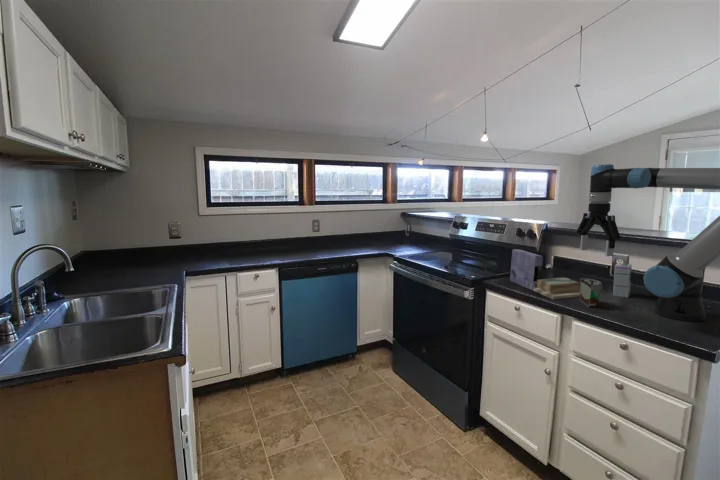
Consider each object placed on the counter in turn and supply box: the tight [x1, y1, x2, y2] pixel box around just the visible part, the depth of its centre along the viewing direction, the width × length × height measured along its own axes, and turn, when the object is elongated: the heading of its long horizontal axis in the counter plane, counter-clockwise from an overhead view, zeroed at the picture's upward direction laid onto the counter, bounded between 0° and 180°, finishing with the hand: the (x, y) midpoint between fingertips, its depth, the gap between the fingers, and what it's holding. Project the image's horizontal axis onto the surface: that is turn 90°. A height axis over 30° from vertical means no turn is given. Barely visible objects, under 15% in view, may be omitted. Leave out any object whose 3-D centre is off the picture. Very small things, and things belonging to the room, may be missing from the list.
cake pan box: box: [509, 248, 544, 291], centre depth 181 cm, size 19×5×18 cm, turn 13°
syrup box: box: [612, 262, 633, 298], centre depth 162 cm, size 6×6×14 cm
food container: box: [579, 277, 603, 308], centre depth 152 cm, size 12×6×10 cm, turn 168°
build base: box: [532, 276, 580, 300], centre depth 170 cm, size 18×18×6 cm
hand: (595, 252), depth 150 cm, fingers open, 13 cm apart
